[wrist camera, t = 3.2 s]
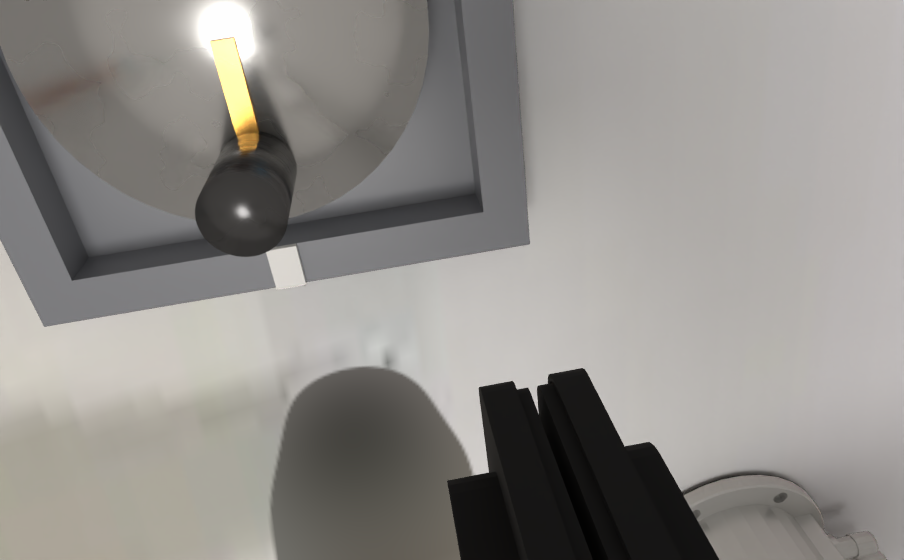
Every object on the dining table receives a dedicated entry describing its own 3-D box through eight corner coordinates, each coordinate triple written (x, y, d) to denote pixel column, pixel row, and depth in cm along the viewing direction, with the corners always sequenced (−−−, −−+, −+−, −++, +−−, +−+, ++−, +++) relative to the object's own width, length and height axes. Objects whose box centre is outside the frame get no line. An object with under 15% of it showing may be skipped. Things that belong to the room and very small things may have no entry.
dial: (390, -242, 22) (405, -293, 16) (445, 174, 28) (469, 242, 23) (-67, -184, 21) (-221, -215, 15) (104, 230, 28) (42, 314, 22)
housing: (466, -364, 22) (485, -407, 19) (513, 213, 31) (531, 246, 28) (-194, -286, 20) (-286, -318, 17) (71, 287, 30) (42, 330, 27)
